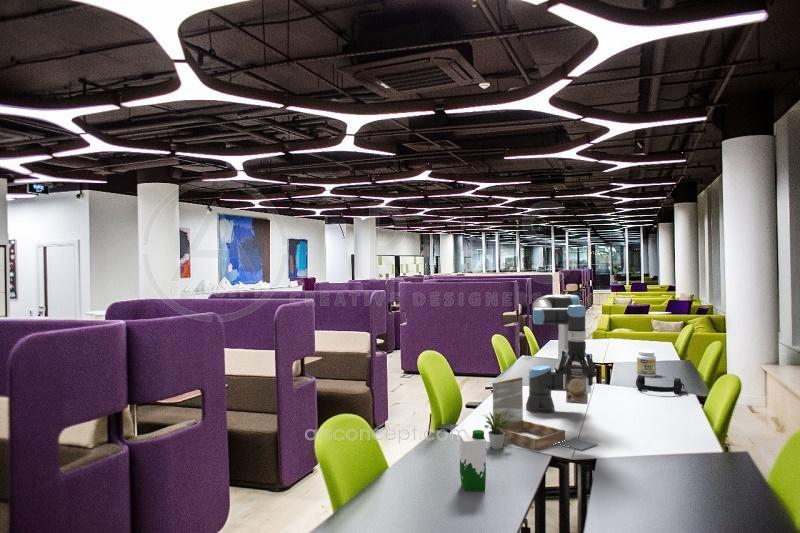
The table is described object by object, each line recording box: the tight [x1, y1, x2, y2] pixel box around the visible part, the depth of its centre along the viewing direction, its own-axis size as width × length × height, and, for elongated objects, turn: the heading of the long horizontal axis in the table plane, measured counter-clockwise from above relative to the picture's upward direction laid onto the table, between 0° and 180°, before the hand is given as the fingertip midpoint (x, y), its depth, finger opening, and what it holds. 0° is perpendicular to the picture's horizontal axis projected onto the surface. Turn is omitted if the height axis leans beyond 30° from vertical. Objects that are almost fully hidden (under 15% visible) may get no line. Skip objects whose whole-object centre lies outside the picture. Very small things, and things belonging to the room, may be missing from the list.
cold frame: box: [492, 376, 566, 451], centre depth 263 cm, size 25×20×25 cm
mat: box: [557, 437, 598, 452], centre depth 254 cm, size 12×12×1 cm
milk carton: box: [459, 429, 487, 493], centre depth 206 cm, size 9×9×20 cm
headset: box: [635, 374, 686, 394], centre depth 357 cm, size 28×26×9 cm
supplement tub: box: [636, 350, 657, 378], centre depth 407 cm, size 12×12×17 cm
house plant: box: [482, 410, 514, 450], centre depth 251 cm, size 14×14×16 cm
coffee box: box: [565, 364, 589, 405], centre depth 253 cm, size 9×6×16 cm
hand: (577, 390), depth 254 cm, fingers closed on coffee box, 11 cm apart
